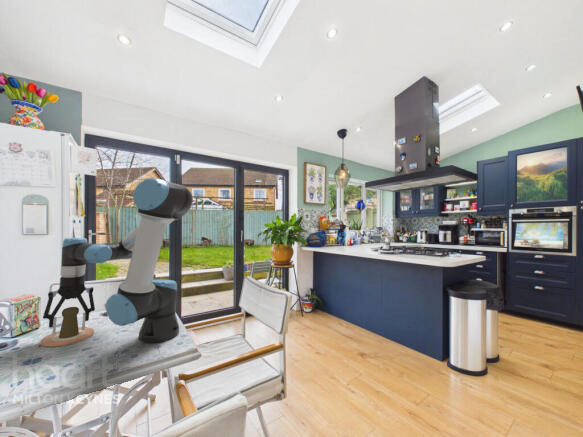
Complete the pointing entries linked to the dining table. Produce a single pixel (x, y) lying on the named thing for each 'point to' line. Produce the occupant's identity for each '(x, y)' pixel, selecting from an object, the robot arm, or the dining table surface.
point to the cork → (69, 323)
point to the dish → (57, 342)
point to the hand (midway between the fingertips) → (69, 331)
